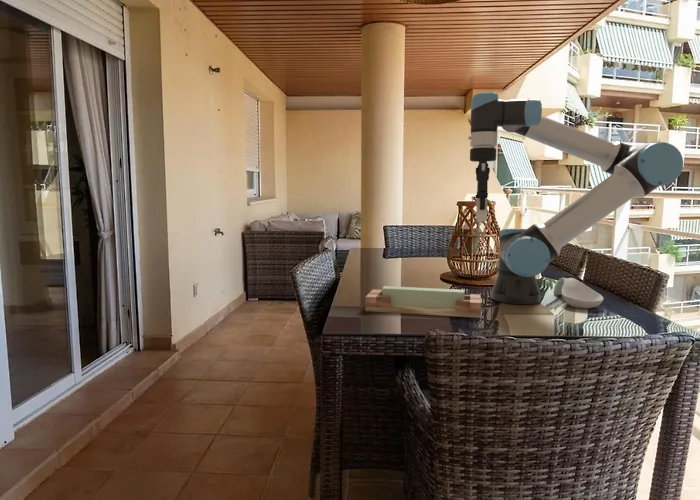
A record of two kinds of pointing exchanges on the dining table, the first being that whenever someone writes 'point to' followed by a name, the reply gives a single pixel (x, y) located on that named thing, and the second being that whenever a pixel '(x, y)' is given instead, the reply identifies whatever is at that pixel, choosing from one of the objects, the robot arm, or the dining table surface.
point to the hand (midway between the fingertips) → (481, 220)
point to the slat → (423, 297)
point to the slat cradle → (463, 307)
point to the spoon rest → (577, 293)
